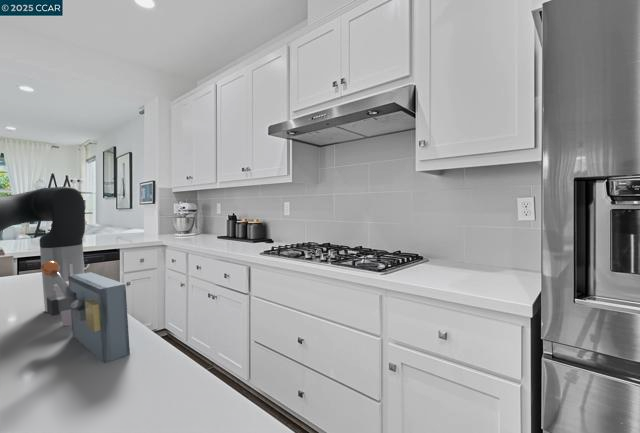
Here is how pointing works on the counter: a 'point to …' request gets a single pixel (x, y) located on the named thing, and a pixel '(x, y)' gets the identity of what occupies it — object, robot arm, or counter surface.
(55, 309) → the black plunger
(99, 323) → the tan square block
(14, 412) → the counter surface
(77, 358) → the counter surface
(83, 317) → the block
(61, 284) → the lever
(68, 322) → the smoothie
